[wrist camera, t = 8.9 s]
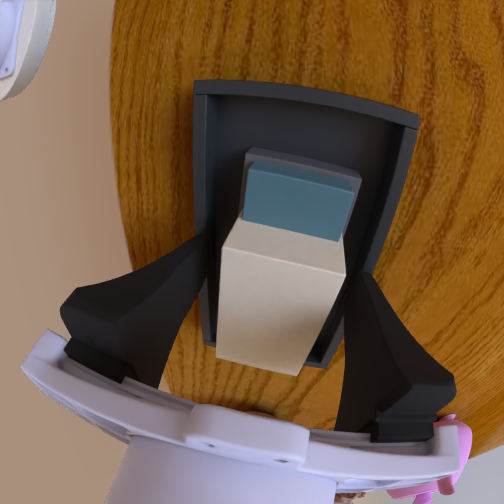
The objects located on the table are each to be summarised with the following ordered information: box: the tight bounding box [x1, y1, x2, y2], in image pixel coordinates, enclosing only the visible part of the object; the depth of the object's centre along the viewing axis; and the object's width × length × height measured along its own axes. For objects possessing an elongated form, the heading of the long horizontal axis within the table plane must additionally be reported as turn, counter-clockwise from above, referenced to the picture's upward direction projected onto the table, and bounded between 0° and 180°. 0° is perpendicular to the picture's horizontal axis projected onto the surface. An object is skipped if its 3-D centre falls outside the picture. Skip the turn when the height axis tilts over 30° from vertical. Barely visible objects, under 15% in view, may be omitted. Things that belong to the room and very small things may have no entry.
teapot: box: [386, 414, 472, 504], centre depth 21 cm, size 20×14×12 cm
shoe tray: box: [193, 79, 421, 369], centre depth 14 cm, size 16×9×2 cm, turn 176°
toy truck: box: [216, 147, 362, 376], centre depth 13 cm, size 10×5×4 cm, turn 173°
